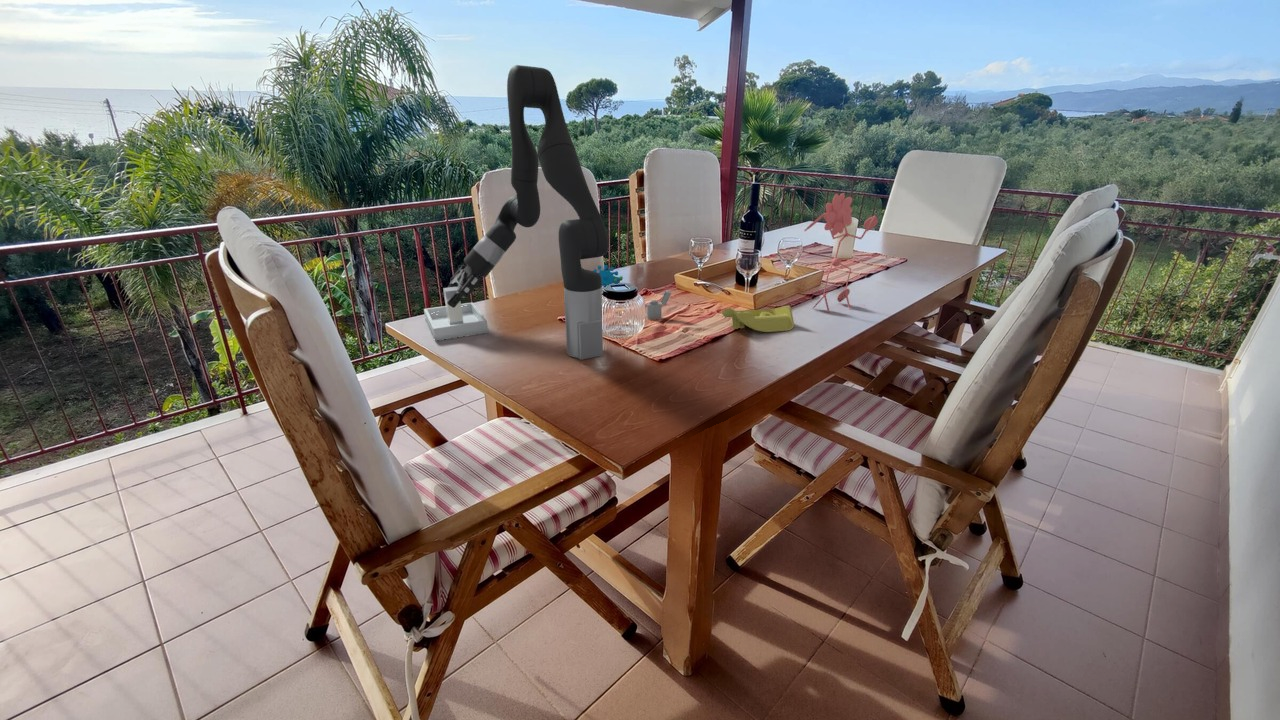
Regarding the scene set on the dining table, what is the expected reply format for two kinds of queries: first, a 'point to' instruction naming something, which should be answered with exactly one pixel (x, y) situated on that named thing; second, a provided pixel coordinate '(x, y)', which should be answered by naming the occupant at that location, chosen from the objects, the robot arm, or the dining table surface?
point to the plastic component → (762, 319)
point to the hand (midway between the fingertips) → (447, 301)
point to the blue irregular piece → (608, 276)
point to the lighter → (657, 306)
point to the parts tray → (470, 326)
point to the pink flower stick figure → (836, 222)
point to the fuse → (452, 313)
